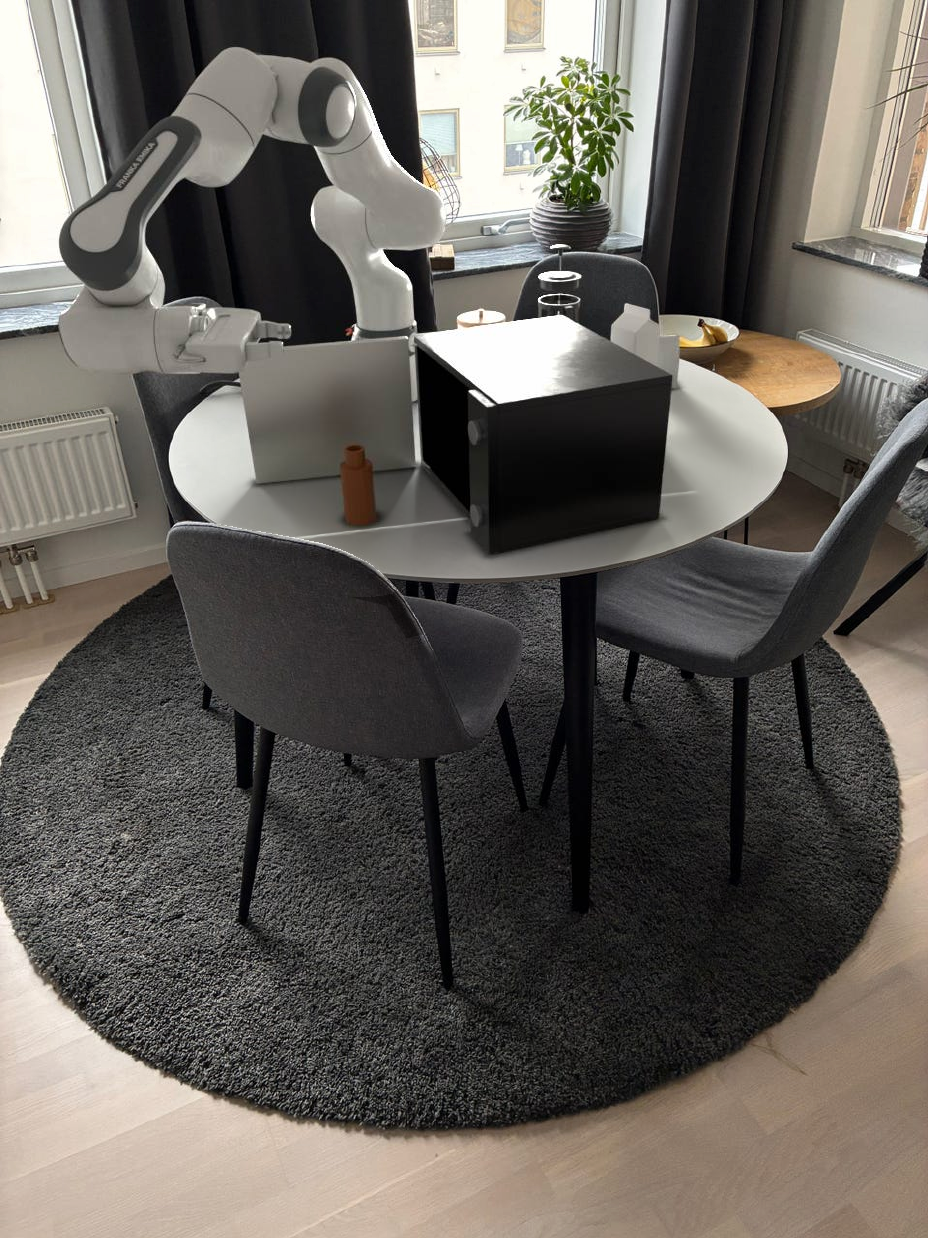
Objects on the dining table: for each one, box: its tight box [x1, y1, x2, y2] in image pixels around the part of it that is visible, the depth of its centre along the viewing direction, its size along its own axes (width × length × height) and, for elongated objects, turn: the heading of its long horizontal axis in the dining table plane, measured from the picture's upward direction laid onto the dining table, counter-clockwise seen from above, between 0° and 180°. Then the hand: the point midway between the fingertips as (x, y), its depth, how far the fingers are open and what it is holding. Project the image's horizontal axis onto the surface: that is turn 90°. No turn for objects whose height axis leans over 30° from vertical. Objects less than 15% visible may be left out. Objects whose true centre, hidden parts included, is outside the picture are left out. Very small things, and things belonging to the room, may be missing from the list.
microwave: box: [414, 314, 673, 555], centre depth 143 cm, size 28×34×22 cm
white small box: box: [657, 334, 681, 389], centre depth 187 cm, size 4×7×10 cm, turn 91°
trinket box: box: [456, 308, 506, 330], centre depth 209 cm, size 11×11×9 cm
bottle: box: [340, 445, 378, 526], centre depth 140 cm, size 5×5×12 cm
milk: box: [610, 302, 662, 366], centre depth 164 cm, size 6×6×22 cm
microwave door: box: [238, 336, 417, 485], centre depth 153 cm, size 7×27×22 cm, turn 101°
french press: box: [537, 244, 582, 324], centre depth 201 cm, size 12×9×23 cm
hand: (287, 339), depth 128 cm, fingers open, 8 cm apart
